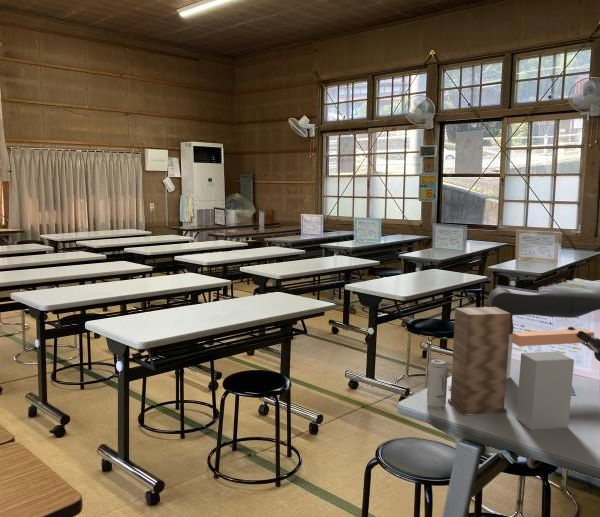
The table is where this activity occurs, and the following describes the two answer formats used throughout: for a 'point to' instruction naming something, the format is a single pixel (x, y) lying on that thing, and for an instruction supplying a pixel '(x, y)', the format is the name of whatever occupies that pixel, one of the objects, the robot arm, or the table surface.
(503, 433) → the table surface
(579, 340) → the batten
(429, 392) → the energy drink can
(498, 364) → the pedestal
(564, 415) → the gray rectangular block
